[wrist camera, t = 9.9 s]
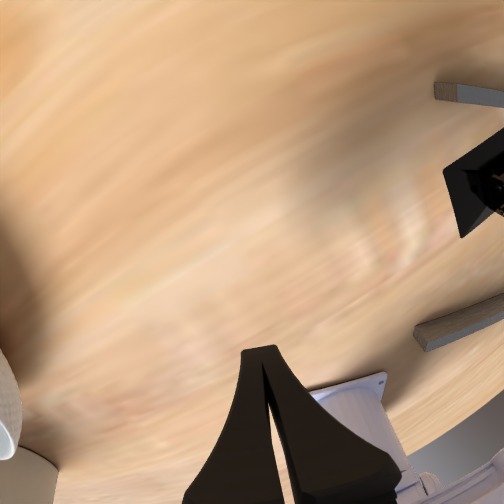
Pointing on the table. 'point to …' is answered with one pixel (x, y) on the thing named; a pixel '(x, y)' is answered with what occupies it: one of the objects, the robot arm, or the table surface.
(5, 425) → the cereal bowl
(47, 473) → the travel mug
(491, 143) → the build plate
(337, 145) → the table surface
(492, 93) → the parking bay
